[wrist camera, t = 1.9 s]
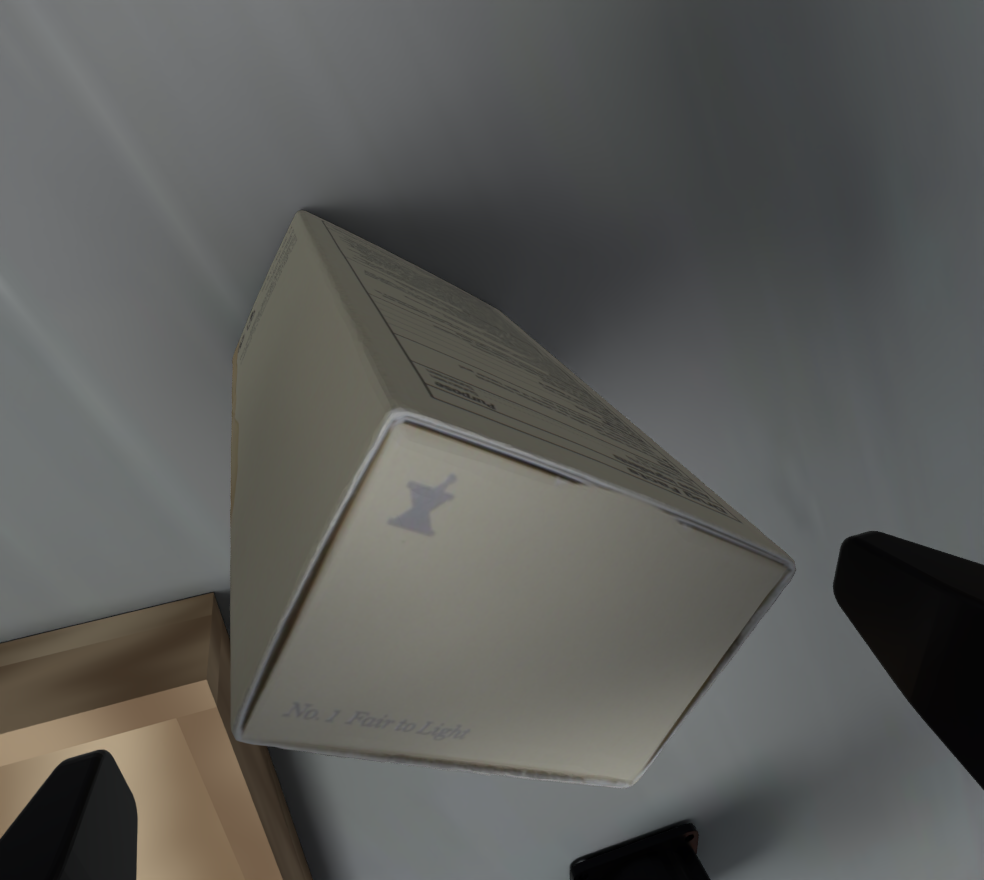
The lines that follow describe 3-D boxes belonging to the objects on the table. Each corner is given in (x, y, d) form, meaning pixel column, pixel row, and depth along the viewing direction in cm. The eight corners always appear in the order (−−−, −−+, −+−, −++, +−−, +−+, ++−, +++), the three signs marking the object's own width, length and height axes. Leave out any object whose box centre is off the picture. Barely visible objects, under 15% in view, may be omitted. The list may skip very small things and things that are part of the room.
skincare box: (228, 358, 18) (189, 752, 7) (300, 196, 16) (374, 391, 6) (441, 441, 20) (631, 808, 10) (516, 308, 19) (815, 569, 9)
